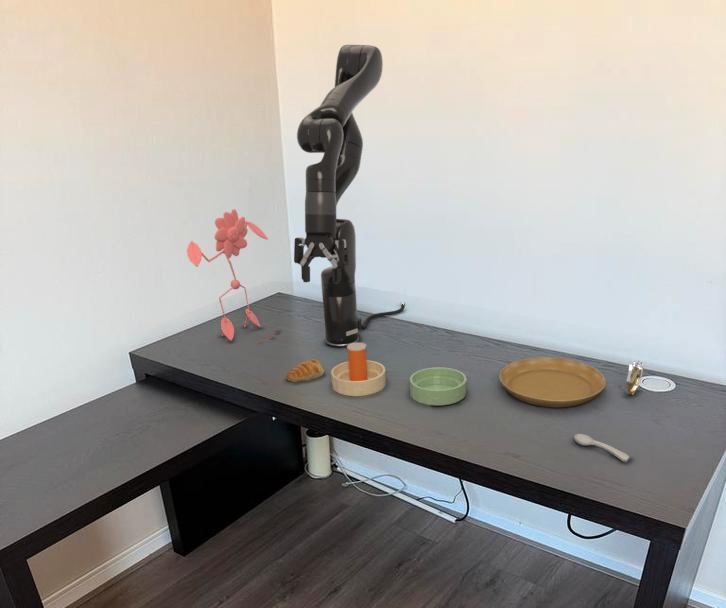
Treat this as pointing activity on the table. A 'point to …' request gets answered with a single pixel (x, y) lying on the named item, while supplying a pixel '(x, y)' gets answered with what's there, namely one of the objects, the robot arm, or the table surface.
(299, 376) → the pastry
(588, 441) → the spoon
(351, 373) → the cracker tube
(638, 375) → the ring
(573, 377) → the plant saucer
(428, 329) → the table surface
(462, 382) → the sage bowl
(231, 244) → the figurine
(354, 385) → the oatmeal bowl
